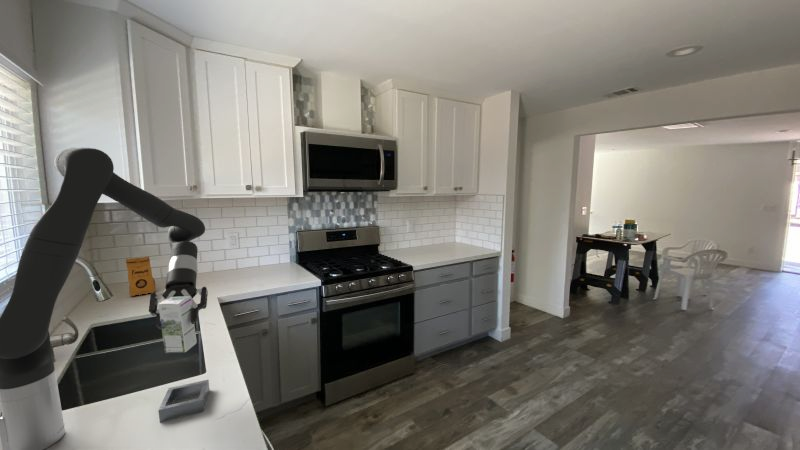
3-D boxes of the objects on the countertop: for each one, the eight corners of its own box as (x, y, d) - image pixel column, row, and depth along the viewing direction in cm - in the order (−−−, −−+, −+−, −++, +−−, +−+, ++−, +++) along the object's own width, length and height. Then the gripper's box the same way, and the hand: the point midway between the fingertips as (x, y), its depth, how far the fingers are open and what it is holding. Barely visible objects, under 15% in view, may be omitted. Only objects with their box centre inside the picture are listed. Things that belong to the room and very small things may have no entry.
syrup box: (197, 342, 94) (192, 295, 92) (184, 353, 88) (178, 302, 86) (177, 343, 94) (172, 295, 92) (163, 354, 88) (157, 303, 86)
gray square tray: (159, 422, 86) (158, 410, 86) (170, 399, 95) (168, 388, 95) (203, 411, 90) (202, 399, 89) (209, 390, 99) (208, 379, 99)
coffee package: (155, 294, 189) (151, 257, 186) (128, 298, 182) (123, 260, 180) (157, 289, 197) (153, 254, 195) (131, 293, 191) (126, 257, 188)
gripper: (149, 269, 92) (140, 325, 83) (207, 264, 98) (204, 315, 89) (157, 282, 98) (149, 335, 89) (211, 276, 103) (209, 325, 94)
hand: (176, 325), depth 89 cm, fingers closed on syrup box, 7 cm apart
